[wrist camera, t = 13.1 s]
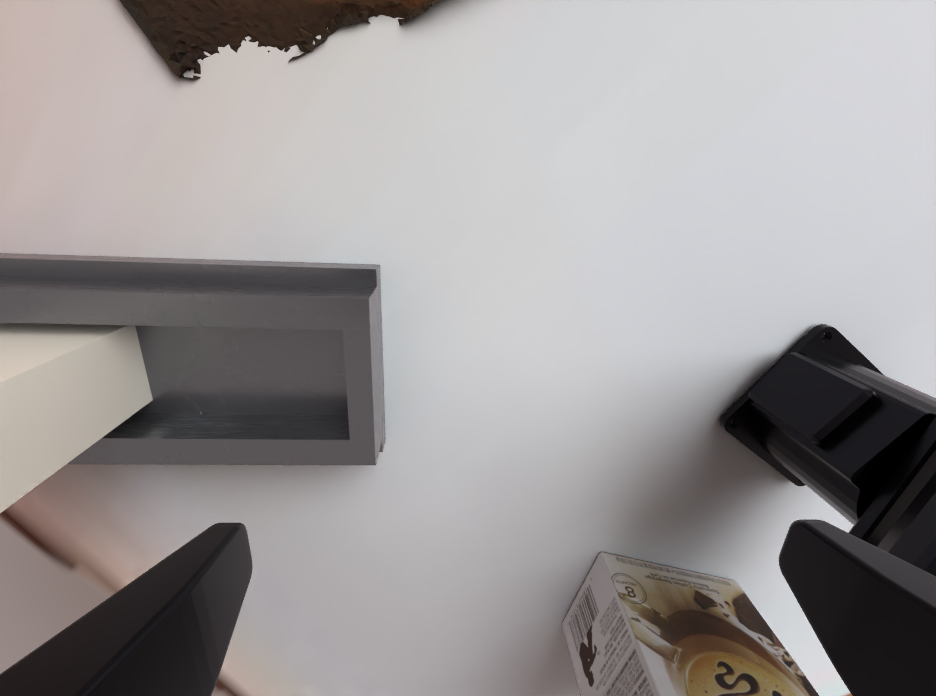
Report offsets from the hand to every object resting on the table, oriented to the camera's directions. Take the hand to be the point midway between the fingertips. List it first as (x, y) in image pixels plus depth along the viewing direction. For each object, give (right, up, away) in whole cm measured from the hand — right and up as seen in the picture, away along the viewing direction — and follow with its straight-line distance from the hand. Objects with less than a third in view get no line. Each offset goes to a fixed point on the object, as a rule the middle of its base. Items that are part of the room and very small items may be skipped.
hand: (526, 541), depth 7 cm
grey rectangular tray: (-13, +3, +12) cm, 18 cm away
